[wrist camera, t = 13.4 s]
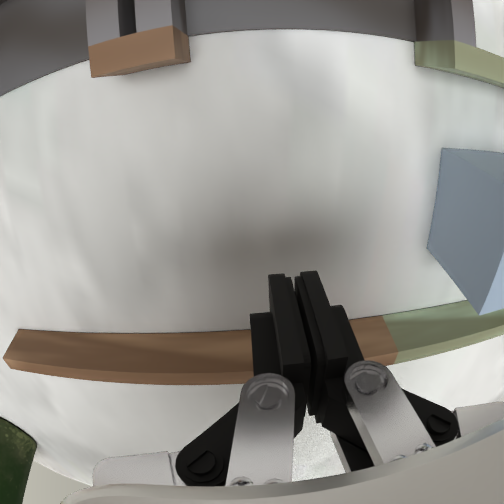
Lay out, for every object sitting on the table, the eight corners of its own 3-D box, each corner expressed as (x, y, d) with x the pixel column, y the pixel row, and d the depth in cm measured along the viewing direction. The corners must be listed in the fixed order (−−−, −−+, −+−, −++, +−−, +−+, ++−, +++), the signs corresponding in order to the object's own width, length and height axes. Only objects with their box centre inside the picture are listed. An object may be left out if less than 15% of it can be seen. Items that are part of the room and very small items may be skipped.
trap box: (500, 302, 19) (520, 328, 17) (25, 339, 20) (10, 368, 17) (547, 4, 7) (580, 7, 4) (-67, 43, 7) (-100, 50, 4)
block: (493, 239, 16) (546, 293, 11) (425, 247, 16) (478, 315, 11) (511, 153, 13) (580, 195, 8) (440, 147, 13) (519, 194, 8)
